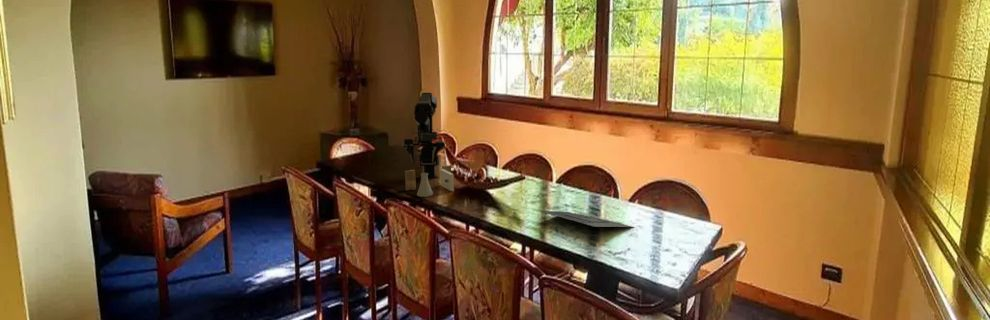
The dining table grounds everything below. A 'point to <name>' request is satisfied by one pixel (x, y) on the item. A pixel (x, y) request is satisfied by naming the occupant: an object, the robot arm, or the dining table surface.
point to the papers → (585, 219)
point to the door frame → (411, 180)
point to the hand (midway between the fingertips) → (423, 163)
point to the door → (446, 180)
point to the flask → (424, 186)
